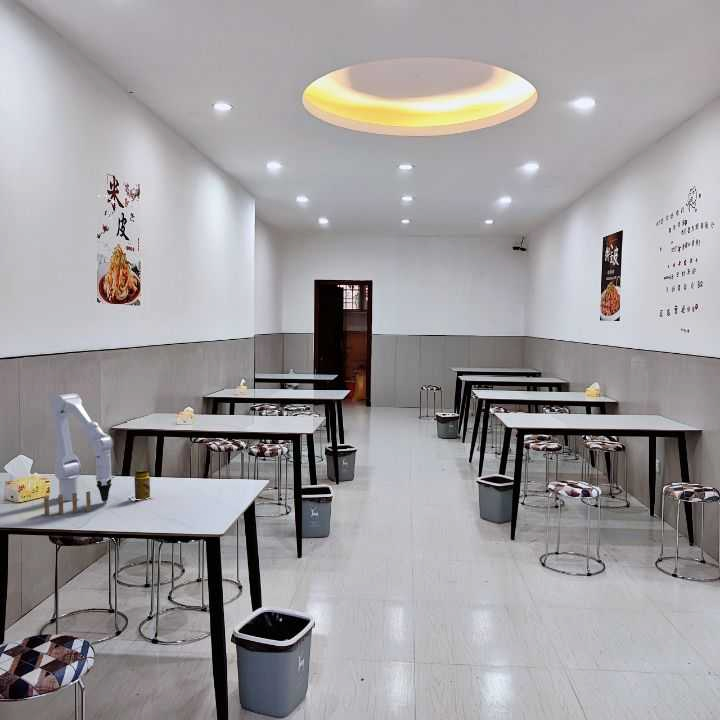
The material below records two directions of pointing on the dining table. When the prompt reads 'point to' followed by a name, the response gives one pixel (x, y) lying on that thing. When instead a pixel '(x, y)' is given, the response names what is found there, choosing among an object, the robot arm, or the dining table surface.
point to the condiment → (142, 484)
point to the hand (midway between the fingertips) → (104, 499)
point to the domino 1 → (46, 505)
